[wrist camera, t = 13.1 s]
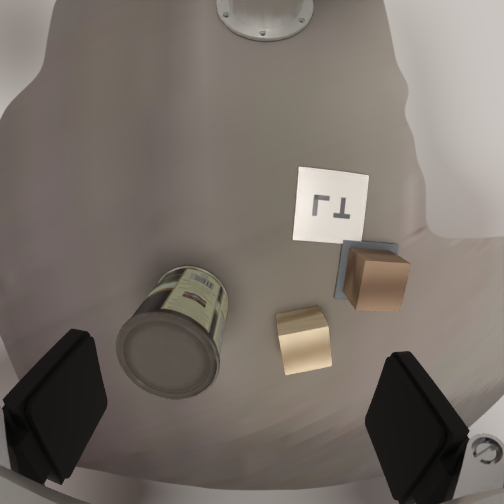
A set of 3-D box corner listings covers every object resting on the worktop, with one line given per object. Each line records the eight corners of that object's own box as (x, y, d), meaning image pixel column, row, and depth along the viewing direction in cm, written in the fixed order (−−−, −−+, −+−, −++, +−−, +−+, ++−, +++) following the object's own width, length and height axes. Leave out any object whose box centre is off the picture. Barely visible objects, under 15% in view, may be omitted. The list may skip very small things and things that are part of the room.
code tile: (298, 166, 36) (299, 166, 36) (367, 175, 36) (369, 175, 36) (292, 239, 39) (292, 239, 38) (359, 244, 39) (360, 245, 38)
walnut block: (349, 247, 38) (365, 260, 32) (390, 250, 38) (410, 263, 33) (342, 291, 40) (355, 310, 34) (382, 293, 40) (400, 310, 34)
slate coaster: (342, 239, 39) (343, 240, 38) (396, 243, 39) (398, 244, 38) (333, 297, 41) (334, 298, 40) (386, 299, 41) (387, 300, 40)
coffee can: (157, 331, 42) (123, 392, 28) (153, 263, 39) (108, 306, 26) (228, 338, 42) (219, 405, 28) (230, 267, 40) (219, 317, 26)
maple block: (275, 313, 41) (278, 335, 35) (318, 305, 41) (328, 326, 35) (281, 350, 43) (285, 375, 37) (322, 342, 42) (331, 365, 37)
